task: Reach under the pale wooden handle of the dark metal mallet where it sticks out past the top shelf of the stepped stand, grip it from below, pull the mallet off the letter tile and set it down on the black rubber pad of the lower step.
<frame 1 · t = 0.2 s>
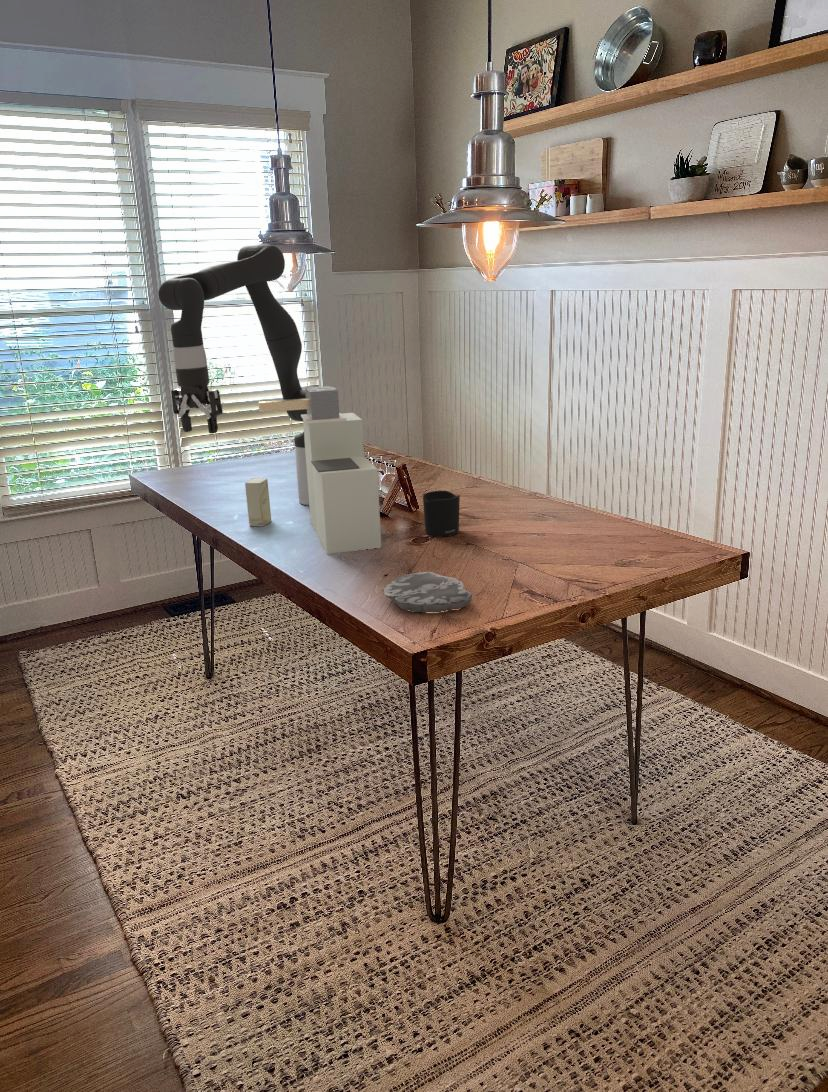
hand: (200, 432, 210), 29 cm above the table, tool pointing down, fingers open, 8 cm apart
brain slice: (426, 603, 176), on the table
skincare box: (260, 524, 235), on the table
pen holder: (442, 533, 221), on the table
stepped stand: (336, 537, 220), on the table
mallet: (323, 416, 219), point 30 cm above the table, touching stepped stand
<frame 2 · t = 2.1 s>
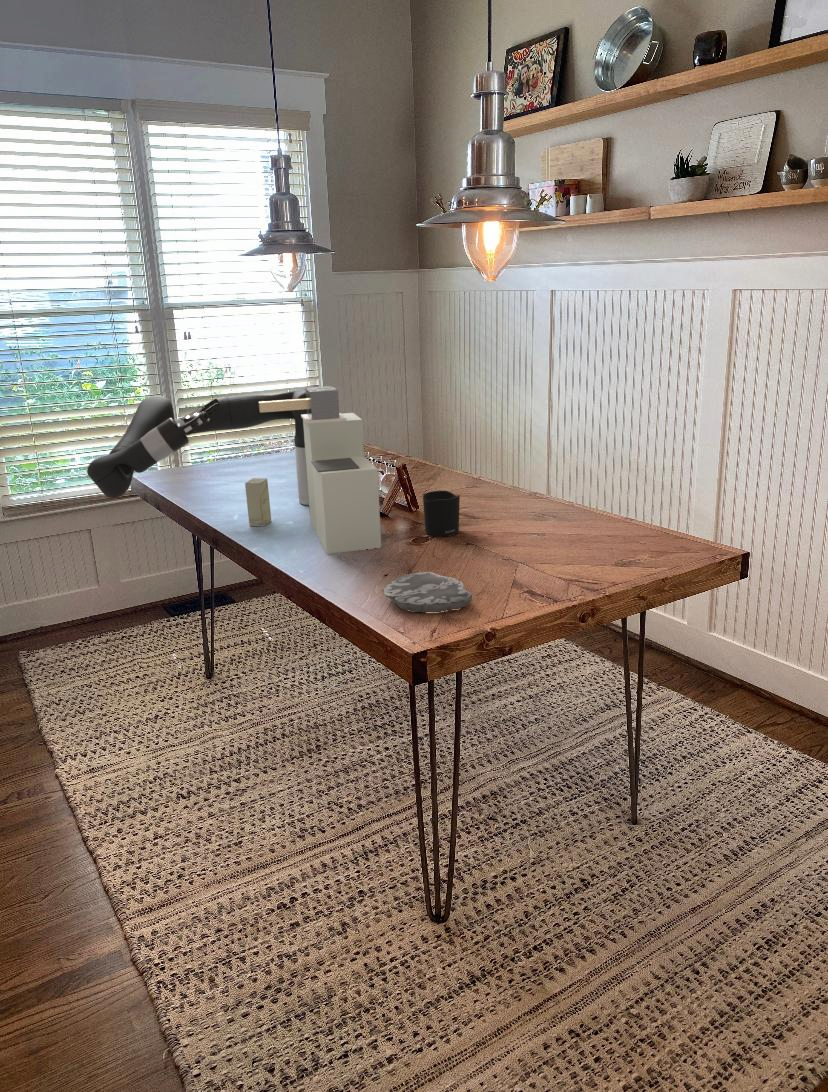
hand: (219, 403, 212), 35 cm above the table, tool pointing upward, fingers open, 8 cm apart
nothing on the table moved.
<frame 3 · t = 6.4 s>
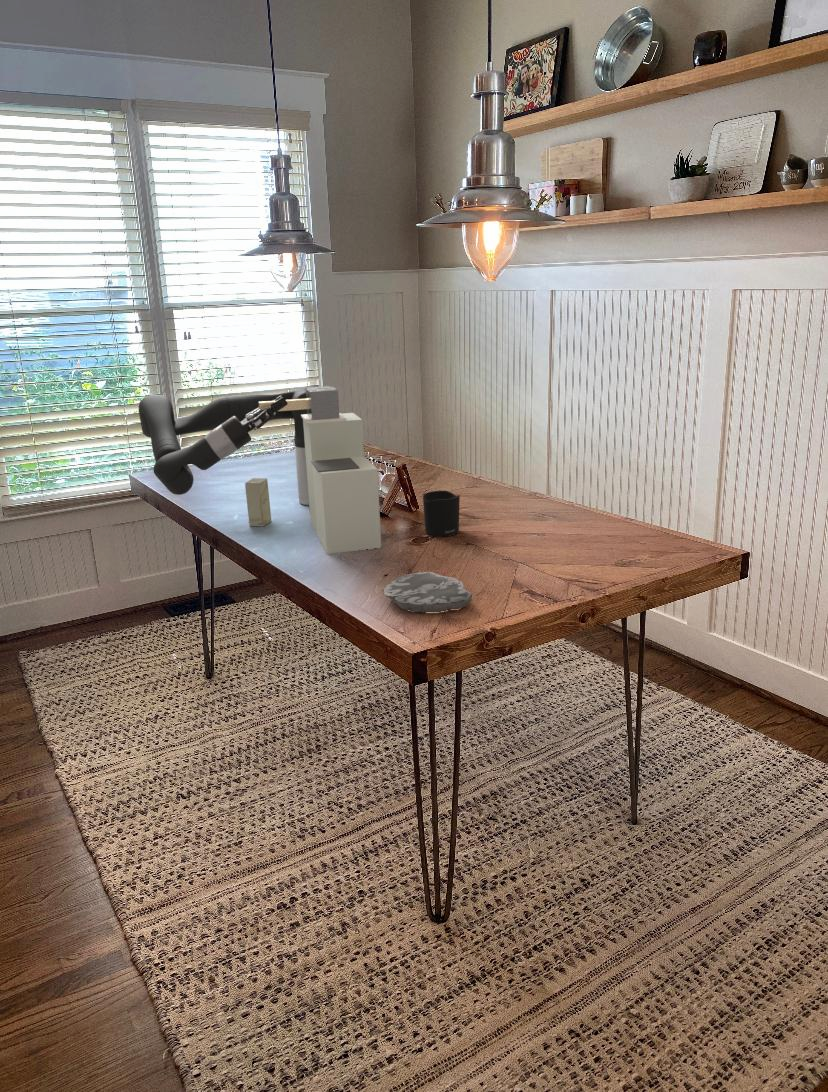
hand: (284, 399, 216), 35 cm above the table, tool pointing upward, fingers closed on mallet, 2 cm apart
mallet: (323, 416, 219), point 30 cm above the table, touching gripper, stepped stand
everything else where it was.
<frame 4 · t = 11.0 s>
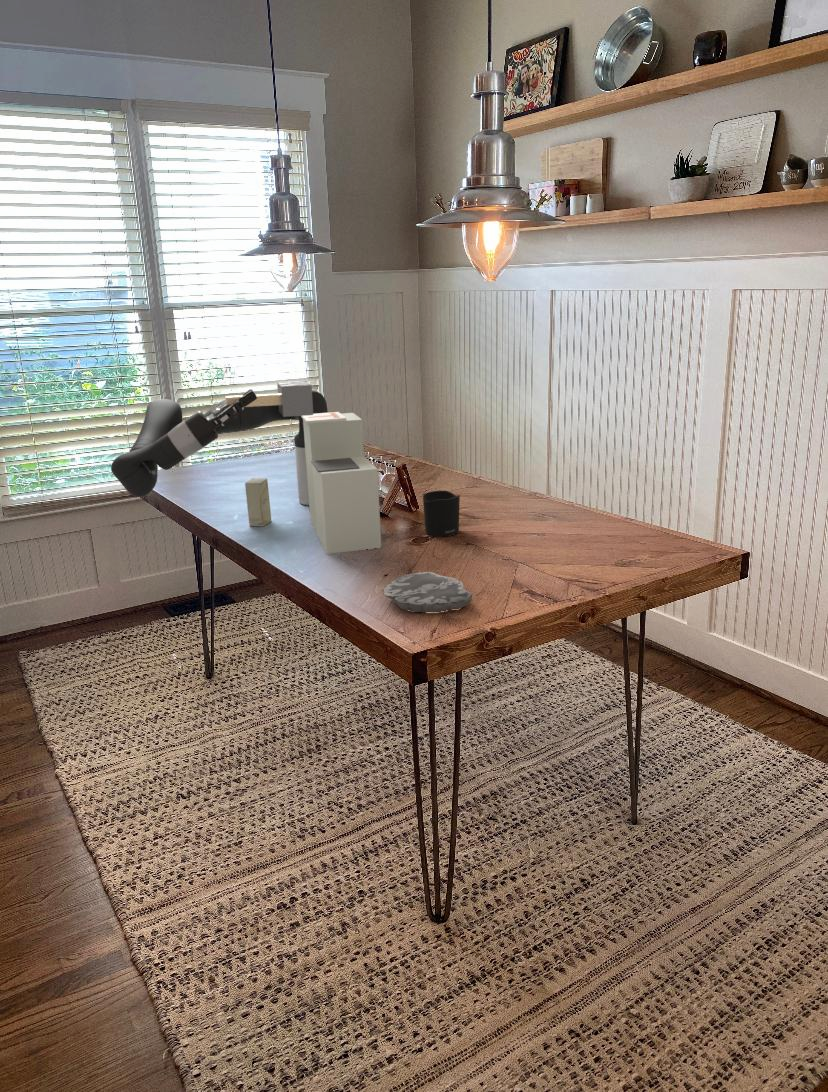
hand: (254, 393, 200), 39 cm above the table, tool pointing upward, fingers closed on mallet, 2 cm apart
mallet: (295, 413, 203), point 33 cm above the table, touching gripper
everything else where it was.
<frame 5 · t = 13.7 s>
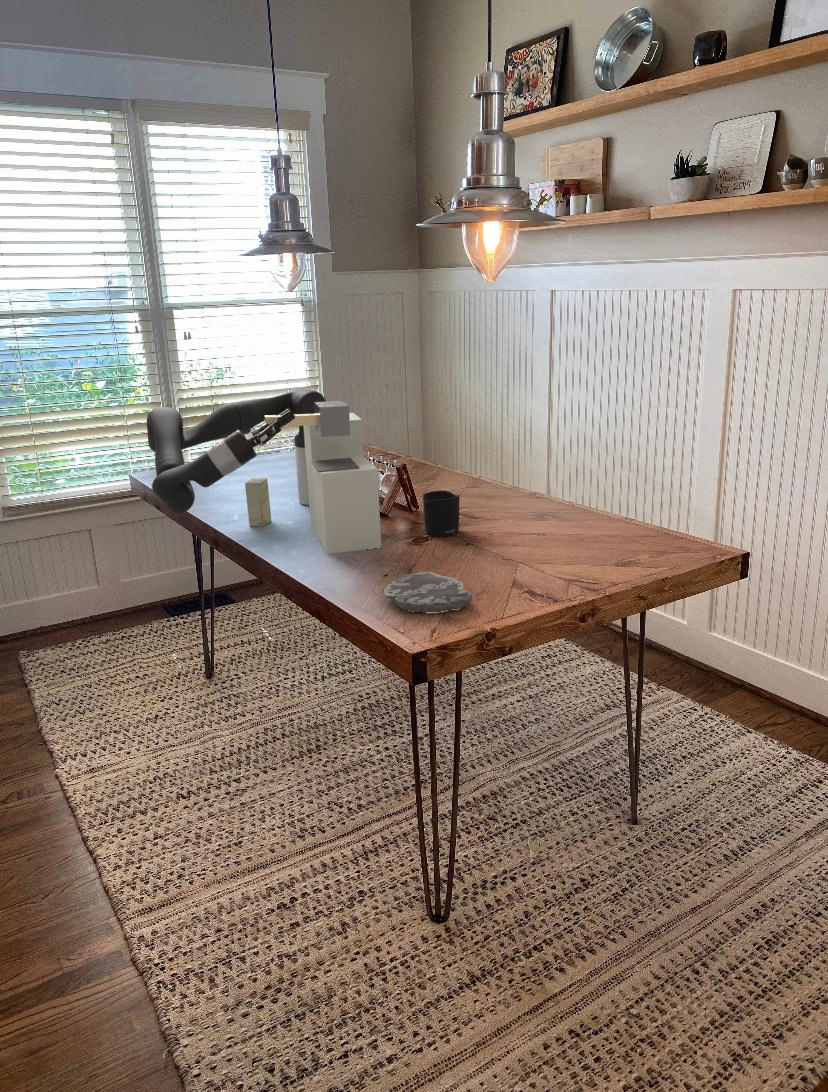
hand: (292, 413, 203), 34 cm above the table, tool pointing upward, fingers closed on mallet, 2 cm apart
mallet: (332, 433, 207), point 28 cm above the table, touching gripper
everything else where it was.
when the fingers open (26 cm above the table, at t = 15.6 s): mallet stays where it is, resting on stepped stand.
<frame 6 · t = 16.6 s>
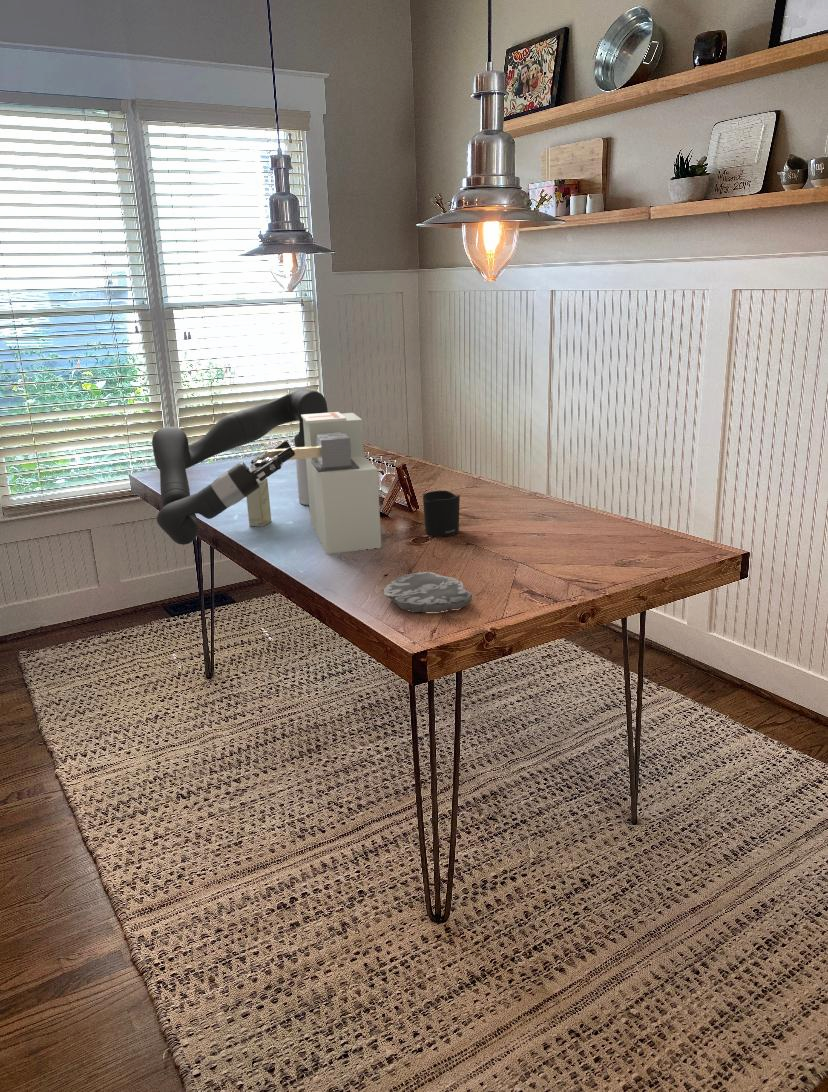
hand: (290, 446, 205), 25 cm above the table, tool pointing upward, fingers open, 8 cm apart
mallet: (334, 464, 209), point 20 cm above the table, touching stepped stand
everything else where it was.
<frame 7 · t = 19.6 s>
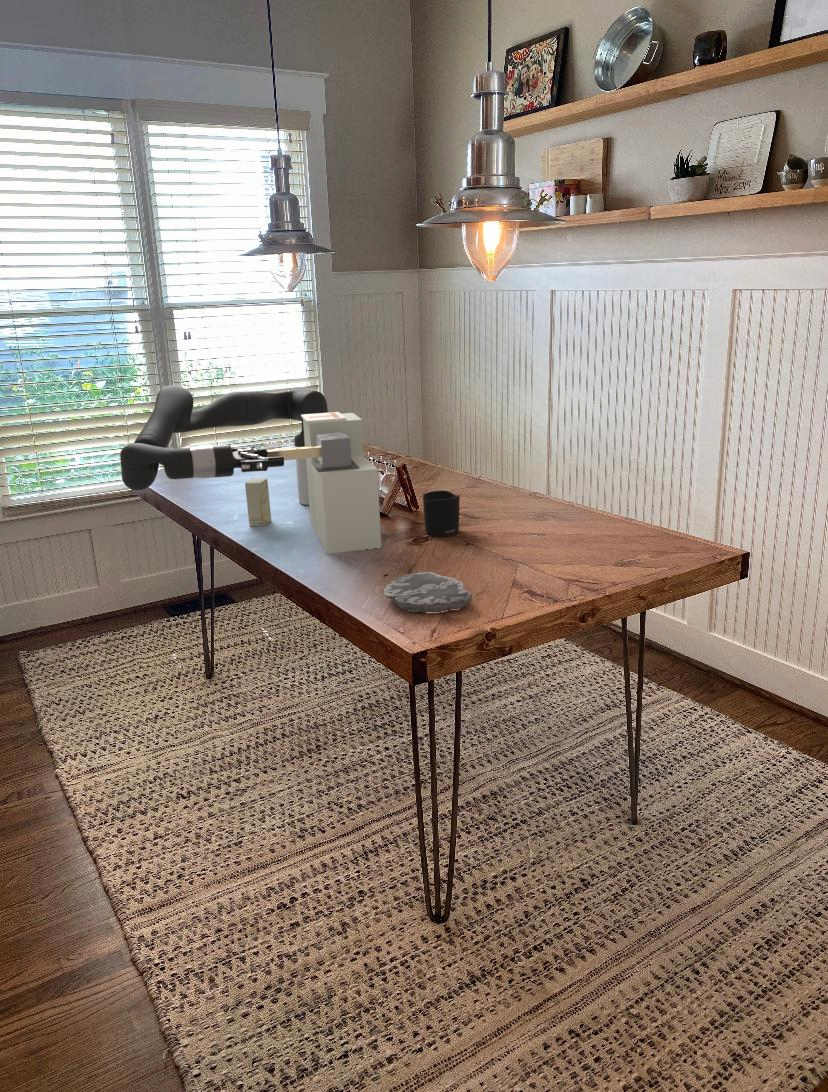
hand: (279, 456, 204), 24 cm above the table, tool horizontal, fingers open, 8 cm apart
nothing on the table moved.
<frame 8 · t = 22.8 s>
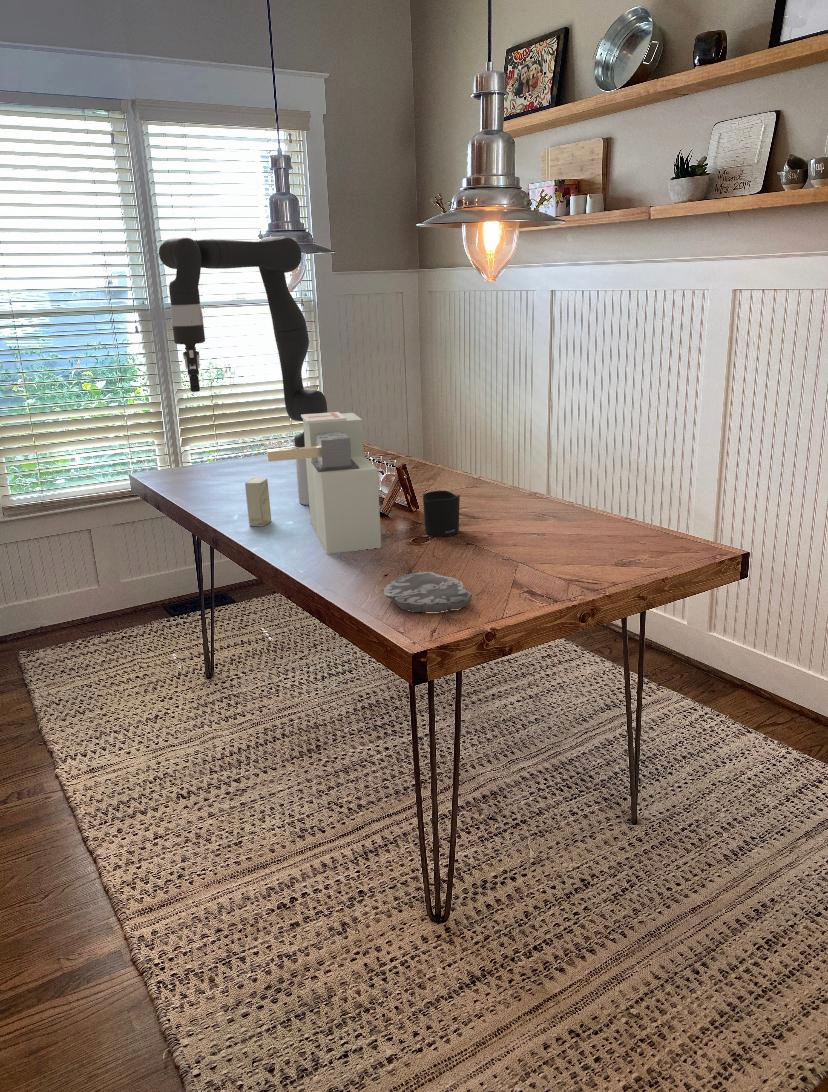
hand: (195, 389, 216), 38 cm above the table, tool pointing down, fingers open, 8 cm apart
nothing on the table moved.
at the end: mallet inside the target area (0.2 cm from its centre), point 20.3 cm above the table; mallet tilted 0°; the gripper is holding nothing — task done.
